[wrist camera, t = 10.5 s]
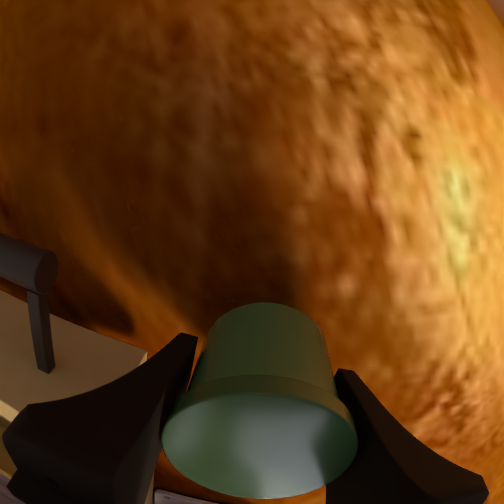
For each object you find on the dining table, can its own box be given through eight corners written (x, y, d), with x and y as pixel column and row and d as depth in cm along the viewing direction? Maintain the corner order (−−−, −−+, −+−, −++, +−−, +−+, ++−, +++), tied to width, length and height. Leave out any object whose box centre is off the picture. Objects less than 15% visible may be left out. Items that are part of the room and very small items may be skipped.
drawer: (-53, 183, 11) (-127, 205, 5) (160, 243, 11) (75, 322, 6) (-10, 409, 17) (-44, 450, 11) (143, 485, 17) (121, 548, 11)
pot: (355, 312, 11) (394, 409, 6) (307, 411, 13) (313, 505, 8) (210, 277, 11) (167, 367, 6) (188, 386, 13) (157, 478, 8)
